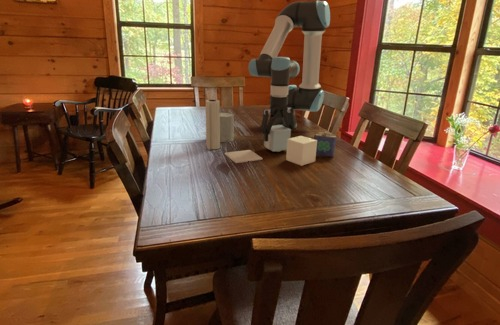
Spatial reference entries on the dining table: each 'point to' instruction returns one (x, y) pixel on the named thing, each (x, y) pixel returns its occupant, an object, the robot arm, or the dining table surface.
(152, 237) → the dining table surface
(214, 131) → the paper towel roll
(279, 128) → the pale sage cube
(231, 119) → the speckled beige cylinder
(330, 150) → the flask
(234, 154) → the mat
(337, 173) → the dining table surface
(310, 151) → the beige rectangular block
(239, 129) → the dining table surface
